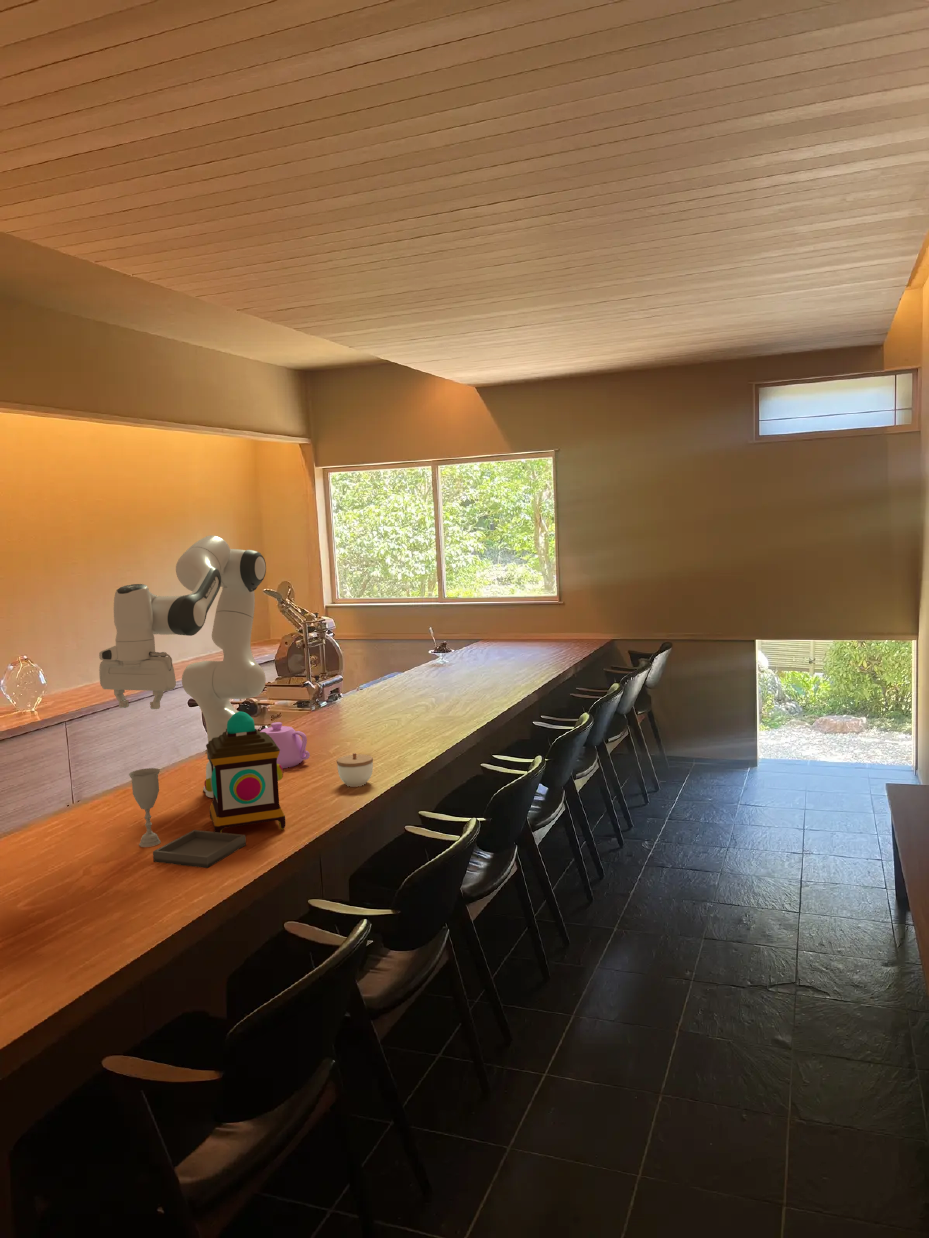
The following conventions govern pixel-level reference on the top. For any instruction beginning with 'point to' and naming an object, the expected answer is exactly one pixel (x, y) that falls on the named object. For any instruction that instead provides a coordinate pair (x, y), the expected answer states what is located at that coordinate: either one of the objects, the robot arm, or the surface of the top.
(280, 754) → the teapot
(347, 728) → the top surface
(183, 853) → the tray
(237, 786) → the decorative lantern
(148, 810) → the chalice
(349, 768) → the lidded jar
